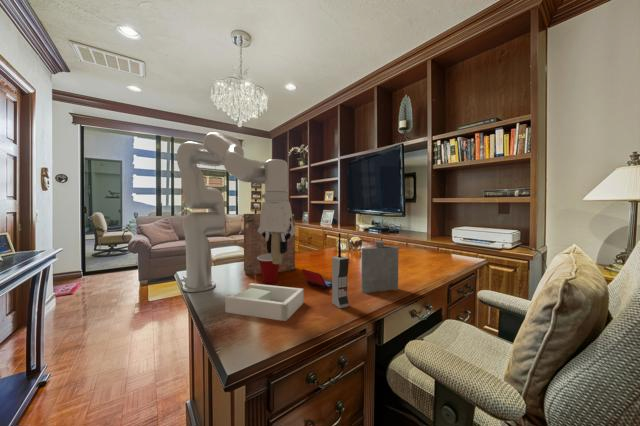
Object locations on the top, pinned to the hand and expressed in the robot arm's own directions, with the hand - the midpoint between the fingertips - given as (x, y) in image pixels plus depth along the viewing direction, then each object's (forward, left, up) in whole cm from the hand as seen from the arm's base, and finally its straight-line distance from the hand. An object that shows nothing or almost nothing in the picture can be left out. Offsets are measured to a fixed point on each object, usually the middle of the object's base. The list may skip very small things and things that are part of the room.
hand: (277, 252), depth 85 cm
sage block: (-9, 0, -19) cm, 22 cm away
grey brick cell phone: (+20, +9, -19) cm, 29 cm away
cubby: (-4, 0, -19) cm, 20 cm away
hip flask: (+31, +29, -19) cm, 47 cm away
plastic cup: (-16, +25, -19) cm, 36 cm away
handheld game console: (+6, +27, -20) cm, 34 cm away
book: (-26, +43, -19) cm, 54 cm away
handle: (0, 0, -4) cm, 4 cm away
